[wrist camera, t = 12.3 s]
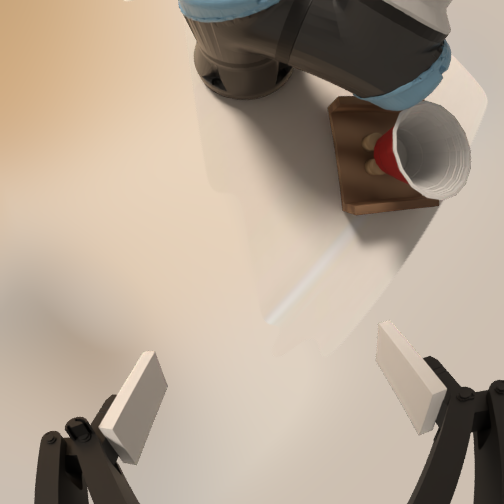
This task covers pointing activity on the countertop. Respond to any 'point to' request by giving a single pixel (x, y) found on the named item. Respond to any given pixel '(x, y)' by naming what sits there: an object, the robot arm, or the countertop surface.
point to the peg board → (367, 159)
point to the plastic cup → (426, 151)
